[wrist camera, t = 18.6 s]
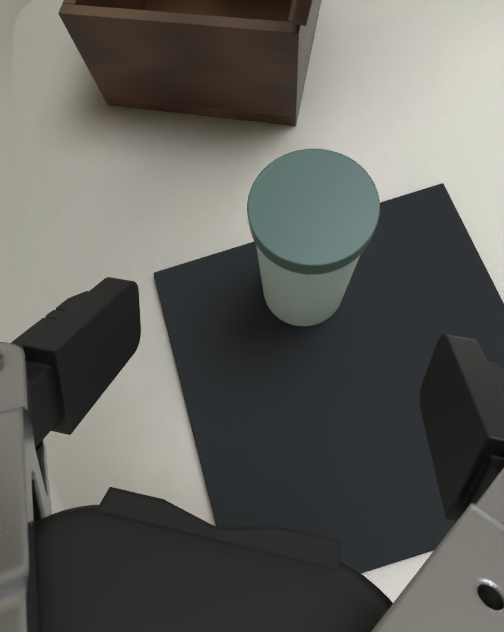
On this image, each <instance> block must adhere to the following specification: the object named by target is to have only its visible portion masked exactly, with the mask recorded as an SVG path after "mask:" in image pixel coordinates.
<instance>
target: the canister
mask: <svg viewBox="0 0 504 632" xmlns="http://www.w3.org/2000/svg"><path fill="white" fill-rule="evenodd" d="M247 213H248V220H249V226H250V230H251V234H252V237H253V239H254V242H255V243H256V248H257V254H258V260H259V267H260V273H261V280H262V286H263V292H264V297H265V301H266V303H267V305H268V307H269V309H270V310H271V311H272V312H273V314H274V315H276V316H277V317H278V318H279V319H281V320H282V321H284V322H286V323H289V324H292V325H295V326H312V325H316V324H319V323H321V322H323V321H325V320H327V319H328V318H329V317H331V316H332V315H333V314H334V313H335V311H336V310H337V309H338V307H339V305H340V303H341V301H342V298H343V296H344V293H345V291H346V288H347V286H348V284H349V281H350V279H351V276H352V274H353V271H354V269H355V267H356V264H357V262H358V259H359V257H360V255H361V254H362V252H363V251H364V250H365V248H366V247H367V245H368V244H369V242H370V240H371V238H372V235H373V233H374V231H375V228H376V226H377V223H378V219H379V214H380V200H379V196H378V192H377V189H376V186H375V184H374V182H373V181H372V179H371V177H370V176H369V175H368V173H367V172H366V171H365V170H364V169H363V168H362V167H361V166H360V165H359V164H358V163H356V162H355V161H354V160H352V159H350V158H349V157H347V156H345V155H342V154H340V153H337V152H334V151H329V150H324V149H304V150H298V151H294V152H291V153H288V154H286V155H283V156H281V157H279V158H278V159H276V160H274V161H273V162H272V163H270V164H269V165H268V166H267V167H266V168H264V170H263V171H262V172H261V173H260V174H259V175H258V177H257V178H256V180H255V181H254V183H253V185H252V187H251V190H250V193H249V197H248V203H247Z"/></svg>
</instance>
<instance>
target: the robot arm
mask: <svg viewBox="0 0 504 632" xmlns="http://www.w3.org/2000/svg"><path fill="white" fill-rule="evenodd" d="M140 335H141V326H140V308H139V290H138V286H137V284H136V282H134V281H128V280H122V279H116V278H110V277H107V278H105V279H104V280H103V281H101V282H100V283H99V284H98V285H96V286H95V287H94V288H93V289H91V290H90V291H89V292H88V291H86V292H83V293H81V294H78V295H76V296H73V297H71V298H68V299H67V300H66V301H64V302H63V303H62V304H60V305H59V306H58V307H57V308H56V310H53V311H51V312H50V313H49V314H48V315H46V318H42V319H41V320H40V321H39V322H37V323H36V324H35V325H33V326H32V327H31V328H29V329H28V330H27V331H26V332H24V333H23V334H22V335H20V336H19V337H18V338H17V339H15V340H14V341H13V342H11V343H5V342H0V632H504V370H503V369H502V368H501V367H500V366H498V365H497V364H496V363H493V362H488V361H487V359H486V357H485V355H484V353H483V351H482V350H481V348H480V346H479V344H478V342H477V341H476V340H475V339H470V338H464V337H458V336H452V335H446V334H443V335H441V336H440V338H439V339H438V342H437V344H436V347H435V350H434V352H433V355H432V358H431V360H430V363H429V366H428V369H427V371H426V374H425V377H424V380H423V382H422V386H421V390H420V410H421V414H422V418H423V423H424V427H425V431H426V436H427V440H428V444H429V449H430V453H431V457H432V462H433V466H434V470H435V474H436V479H437V483H438V487H439V492H440V496H441V500H442V505H443V509H444V513H445V518H446V519H448V520H452V521H457V522H456V523H455V524H454V526H453V527H452V528H451V530H450V531H449V532H448V533H447V535H446V536H445V537H444V539H443V540H442V541H441V542H440V544H439V545H438V546H437V548H436V549H435V550H434V551H433V553H432V554H431V555H430V557H429V558H428V559H427V561H426V562H425V563H424V564H423V566H422V567H421V568H420V570H419V571H418V572H417V573H416V575H415V576H414V577H413V579H412V580H411V581H410V582H409V584H408V585H407V586H406V588H405V589H404V590H403V591H402V593H401V594H400V595H399V597H398V598H397V599H396V600H395V602H394V603H392V602H391V600H390V599H389V598H388V597H387V596H386V595H385V594H384V593H383V592H382V591H381V590H380V589H379V588H378V587H377V586H375V585H374V584H373V583H372V582H371V581H369V580H368V579H367V578H366V577H364V576H363V575H362V574H360V573H359V572H357V571H356V570H354V569H353V568H351V567H349V566H348V565H346V564H344V563H342V562H340V541H339V540H335V539H331V538H326V537H322V536H318V535H314V534H309V533H305V532H301V531H296V530H292V529H288V528H284V527H225V528H223V527H216V526H213V525H211V524H209V523H207V522H205V521H203V520H202V519H200V518H198V517H196V516H194V515H192V514H190V513H188V512H186V511H184V510H183V509H181V508H179V507H177V506H175V505H173V504H171V503H169V502H167V501H166V500H164V499H159V498H155V497H151V496H147V495H142V494H138V493H134V492H130V491H125V490H121V489H117V488H112V487H110V488H109V489H108V491H107V493H106V494H105V496H104V498H103V500H102V501H101V503H100V505H89V506H82V507H76V508H72V509H68V510H64V511H61V512H58V513H55V514H52V510H51V501H50V491H49V479H48V468H47V458H46V447H45V443H44V438H45V437H46V435H47V434H48V433H49V432H50V431H55V432H59V433H64V434H68V435H71V433H72V432H73V431H74V429H75V428H76V427H77V426H78V424H79V423H80V422H81V421H82V419H83V418H84V417H85V415H86V414H87V413H88V412H89V410H90V409H91V408H92V407H93V405H94V404H95V403H96V401H97V400H98V399H99V398H100V396H101V395H102V394H103V392H104V391H105V390H106V389H107V387H108V386H109V385H110V384H111V382H112V381H113V380H114V378H115V377H116V376H117V375H118V373H119V372H120V371H121V369H122V368H123V367H124V366H125V364H126V363H127V362H128V361H129V359H130V358H131V357H132V355H133V354H134V353H135V351H136V349H137V347H138V344H139V341H140Z"/></svg>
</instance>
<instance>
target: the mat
mask: <svg viewBox="0 0 504 632" xmlns="http://www.w3.org/2000/svg"><path fill="white" fill-rule="evenodd" d="M154 277H155V281H156V285H157V289H158V293H159V297H160V301H161V305H162V309H163V313H164V317H165V321H166V325H167V329H168V334H169V338H170V342H171V346H172V350H173V354H174V358H175V362H176V366H177V370H178V374H179V378H180V382H181V386H182V390H183V394H184V398H185V402H186V406H187V410H188V414H189V418H190V422H191V426H192V430H193V434H194V438H195V442H196V446H197V450H198V454H199V458H200V462H201V466H202V470H203V474H204V478H205V482H206V486H207V490H208V494H209V498H210V502H211V506H212V510H213V514H214V519H215V523H216V527H223V528H225V527H284V528H288V529H292V530H296V531H301V532H305V533H309V534H314V535H318V536H322V537H326V538H331V539H335V540H339V541H340V562H342V563H344V564H346V565H348V566H349V567H351V568H353V569H354V570H356V571H357V572H359V573H364V572H367V571H370V570H373V569H376V568H379V567H383V566H386V565H389V564H392V563H395V562H398V561H401V560H405V559H408V558H411V557H414V556H417V555H420V554H424V553H427V552H430V551H433V550H435V549H436V548H437V546H438V545H439V544H440V542H441V541H442V540H443V539H444V537H445V536H446V535H447V533H448V532H449V531H450V530H451V528H452V527H453V526H454V524H455V523H456V522H457V521H452V520H448V519H446V518H445V513H444V509H443V505H442V500H441V496H440V492H439V487H438V483H437V479H436V474H435V470H434V466H433V462H432V457H431V453H430V449H429V444H428V440H427V436H426V431H425V427H424V423H423V418H422V414H421V410H420V390H421V386H422V382H423V380H424V377H425V374H426V371H427V369H428V366H429V363H430V360H431V358H432V355H433V352H434V350H435V347H436V344H437V342H438V339H439V338H440V336H441V335H443V334H446V335H452V336H458V337H464V338H470V339H475V340H476V341H477V342H478V344H479V346H480V348H481V350H482V351H483V353H484V355H485V357H486V359H487V361H488V362H493V363H496V364H497V365H498V366H500V367H501V368H502V369H503V370H504V303H503V301H502V299H501V297H500V295H499V293H498V291H497V289H496V287H495V285H494V283H493V281H492V279H491V277H490V275H489V274H488V272H487V270H486V268H485V266H484V264H483V262H482V260H481V258H480V256H479V254H478V252H477V250H476V248H475V246H474V244H473V242H472V240H471V238H470V236H469V234H468V232H467V230H466V228H465V226H464V224H463V222H462V220H461V218H460V216H459V214H458V212H457V210H456V208H455V206H454V204H453V202H452V200H451V198H450V196H449V194H448V192H447V190H446V188H445V186H444V184H443V183H442V184H439V185H436V186H433V187H429V188H426V189H423V190H420V191H416V192H413V193H410V194H407V195H404V196H400V197H397V198H394V199H391V200H387V201H384V202H381V203H380V214H379V219H378V223H377V226H376V228H375V231H374V233H373V235H372V238H371V240H370V242H369V244H368V245H367V247H366V248H365V250H364V251H363V252H362V254H361V255H360V257H359V259H358V262H357V264H356V267H355V269H354V271H353V274H352V276H351V279H350V281H349V284H348V286H347V288H346V291H345V293H344V296H343V298H342V301H341V303H340V305H339V307H338V309H337V310H336V311H335V313H334V314H333V315H332V316H331V317H329V318H328V319H327V320H325V321H323V322H321V323H319V324H316V325H312V326H295V325H292V324H289V323H286V322H284V321H282V320H281V319H279V318H278V317H277V316H276V315H274V314H273V312H272V311H271V310H270V309H269V307H268V305H267V303H266V301H265V297H264V292H263V286H262V280H261V273H260V267H259V260H258V254H257V248H256V243H255V242H252V243H249V244H245V245H242V246H239V247H236V248H232V249H229V250H226V251H223V252H219V253H216V254H213V255H210V256H207V257H203V258H200V259H197V260H194V261H190V262H187V263H184V264H181V265H177V266H174V267H171V268H168V269H165V270H161V271H158V272H155V273H154Z"/></svg>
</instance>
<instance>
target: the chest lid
mask: <svg viewBox="0 0 504 632" xmlns="http://www.w3.org/2000/svg"><path fill="white" fill-rule="evenodd" d="M312 2H313V0H297V3H296V8H295V13H294V18H293V23H294V24H298V25H302V26H306V25H307V23H308V19H309V14H310V10H311V6H312Z"/></svg>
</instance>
